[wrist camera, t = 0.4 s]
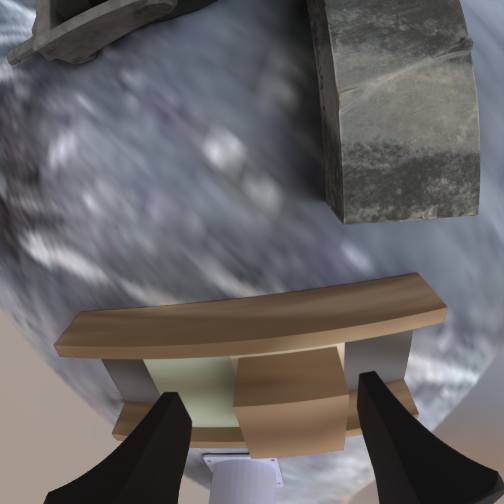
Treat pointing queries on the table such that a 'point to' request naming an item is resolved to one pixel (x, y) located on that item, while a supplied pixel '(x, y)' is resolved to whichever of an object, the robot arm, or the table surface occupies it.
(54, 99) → the table surface
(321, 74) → the stone block
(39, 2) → the caster wheel
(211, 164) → the table surface
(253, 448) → the walnut block
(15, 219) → the table surface
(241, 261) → the table surface
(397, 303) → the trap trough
